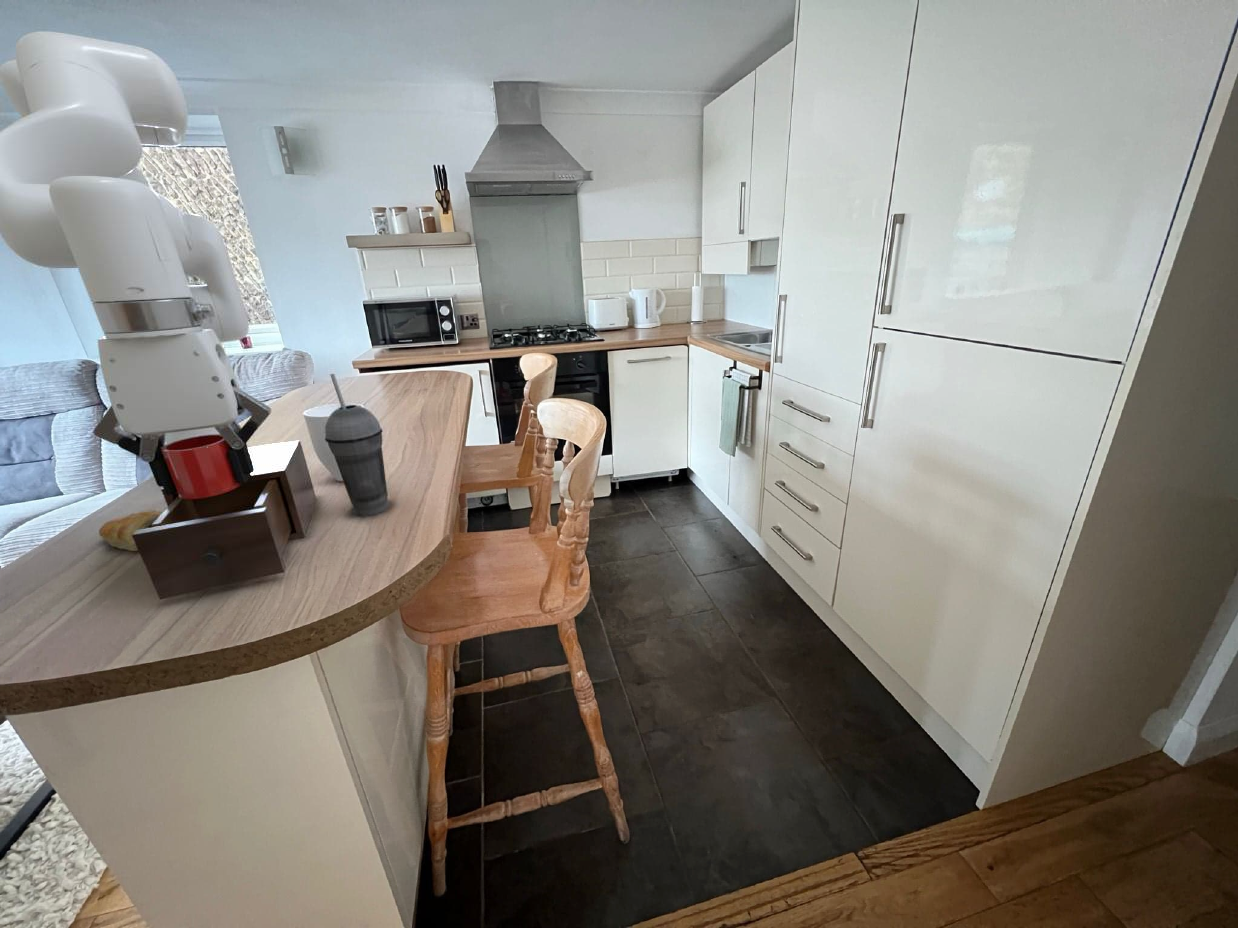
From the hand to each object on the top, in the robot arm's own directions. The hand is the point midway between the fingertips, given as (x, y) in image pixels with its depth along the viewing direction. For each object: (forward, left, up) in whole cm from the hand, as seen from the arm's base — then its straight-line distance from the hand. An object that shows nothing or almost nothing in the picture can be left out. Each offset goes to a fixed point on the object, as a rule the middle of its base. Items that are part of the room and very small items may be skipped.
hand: (210, 483), depth 57 cm
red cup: (0, 0, -1) cm, 1 cm away
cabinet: (-11, 0, -11) cm, 16 cm away
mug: (-27, +11, -11) cm, 32 cm away
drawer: (0, 0, -10) cm, 10 cm away
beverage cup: (-10, +14, -11) cm, 21 cm away
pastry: (-14, -14, -11) cm, 23 cm away
